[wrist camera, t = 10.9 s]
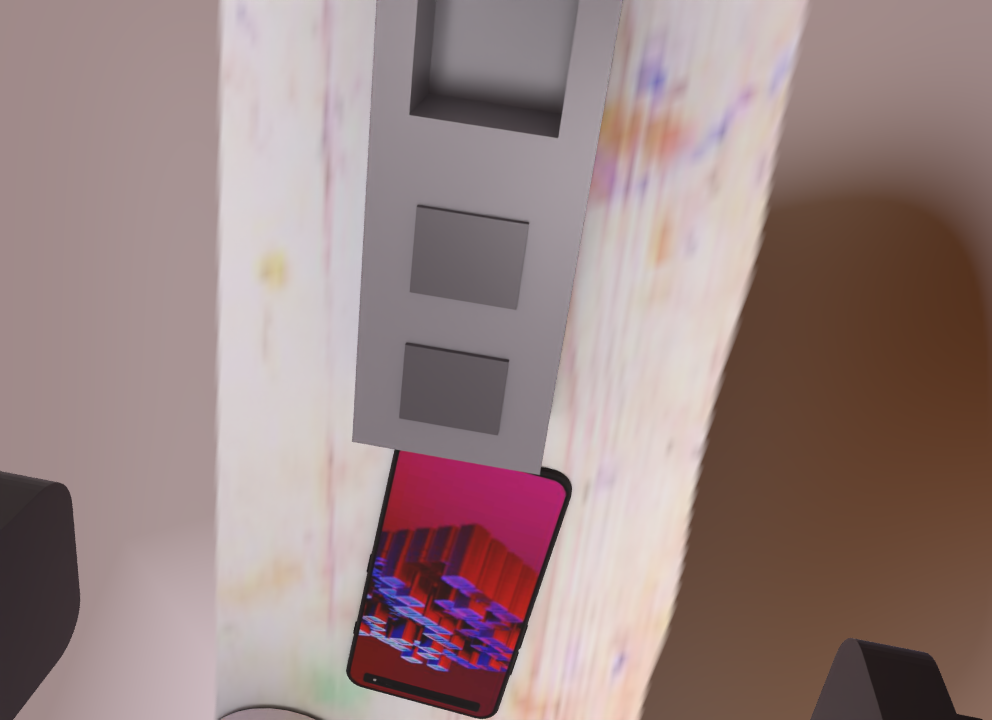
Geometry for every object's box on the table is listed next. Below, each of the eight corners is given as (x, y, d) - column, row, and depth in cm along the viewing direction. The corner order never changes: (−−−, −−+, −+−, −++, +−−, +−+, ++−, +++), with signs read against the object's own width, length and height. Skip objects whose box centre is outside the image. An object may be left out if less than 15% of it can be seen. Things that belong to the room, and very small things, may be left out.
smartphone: (578, 481, 39) (494, 724, 46) (579, 470, 39) (497, 710, 46) (396, 433, 39) (341, 683, 46) (400, 421, 39) (346, 669, 46)
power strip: (548, 417, 38) (537, 487, 33) (378, 388, 38) (346, 453, 34) (660, -222, 27) (664, -236, 23) (422, -253, 28) (384, -273, 23)
